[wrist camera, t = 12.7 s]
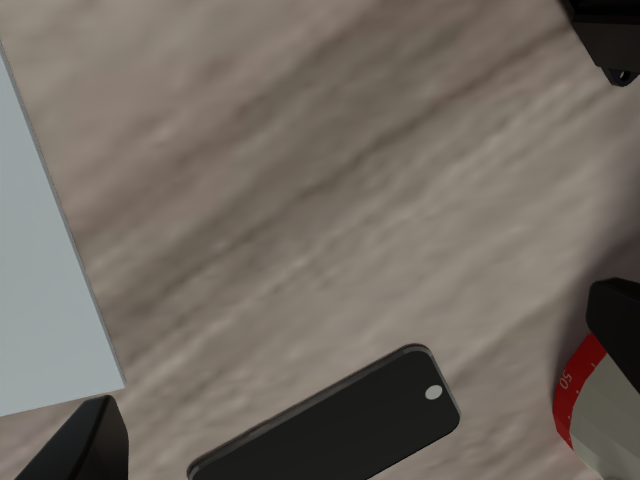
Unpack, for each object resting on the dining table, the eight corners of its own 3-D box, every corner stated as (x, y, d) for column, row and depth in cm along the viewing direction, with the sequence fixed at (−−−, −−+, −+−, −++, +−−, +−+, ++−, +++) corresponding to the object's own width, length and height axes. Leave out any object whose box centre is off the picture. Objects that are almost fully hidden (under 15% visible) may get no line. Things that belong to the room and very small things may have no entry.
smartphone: (468, 425, 30) (251, 546, 30) (462, 416, 30) (250, 535, 30) (425, 339, 26) (178, 478, 26) (419, 331, 27) (179, 466, 27)
